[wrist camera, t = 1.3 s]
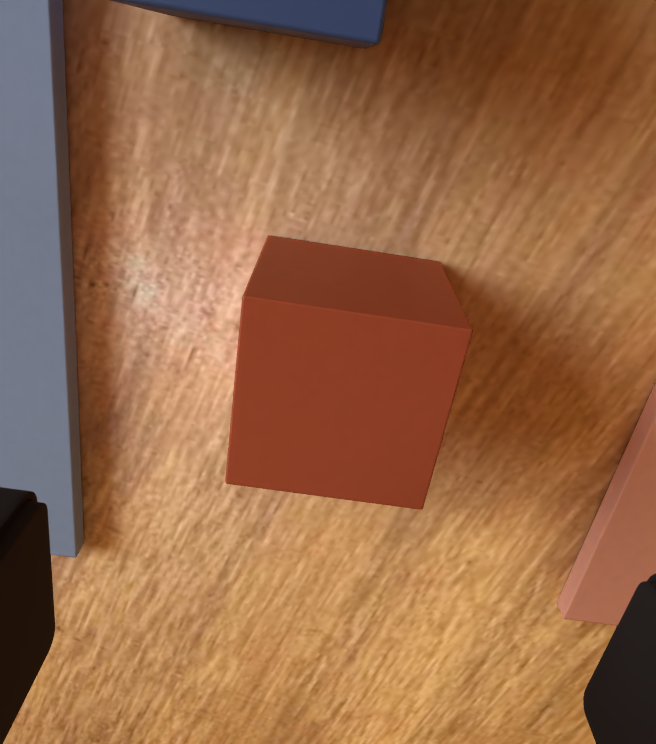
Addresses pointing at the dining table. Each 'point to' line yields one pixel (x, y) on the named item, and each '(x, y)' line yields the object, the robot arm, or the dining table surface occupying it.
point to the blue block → (286, 17)
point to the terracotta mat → (618, 535)
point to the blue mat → (38, 272)
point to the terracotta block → (344, 373)
